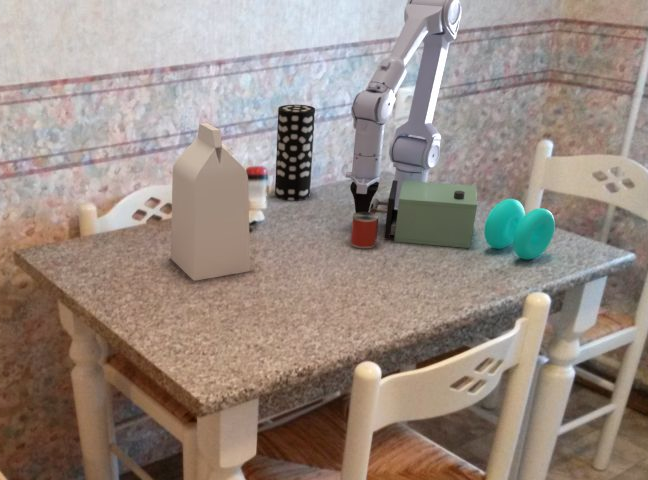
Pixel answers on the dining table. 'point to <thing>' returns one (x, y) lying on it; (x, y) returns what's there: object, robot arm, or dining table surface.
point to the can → (364, 230)
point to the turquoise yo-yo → (519, 228)
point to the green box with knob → (436, 214)
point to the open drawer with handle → (388, 210)
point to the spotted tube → (294, 151)
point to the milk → (210, 209)
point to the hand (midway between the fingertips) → (361, 217)
